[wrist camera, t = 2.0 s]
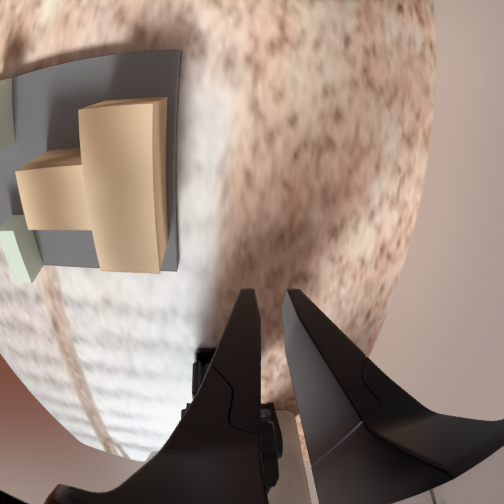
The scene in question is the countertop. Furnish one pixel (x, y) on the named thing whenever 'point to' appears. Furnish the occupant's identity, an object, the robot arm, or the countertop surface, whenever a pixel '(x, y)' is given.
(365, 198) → the countertop surface
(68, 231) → the mat
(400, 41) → the countertop surface
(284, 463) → the thermos bottle
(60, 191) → the tee block
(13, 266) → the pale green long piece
